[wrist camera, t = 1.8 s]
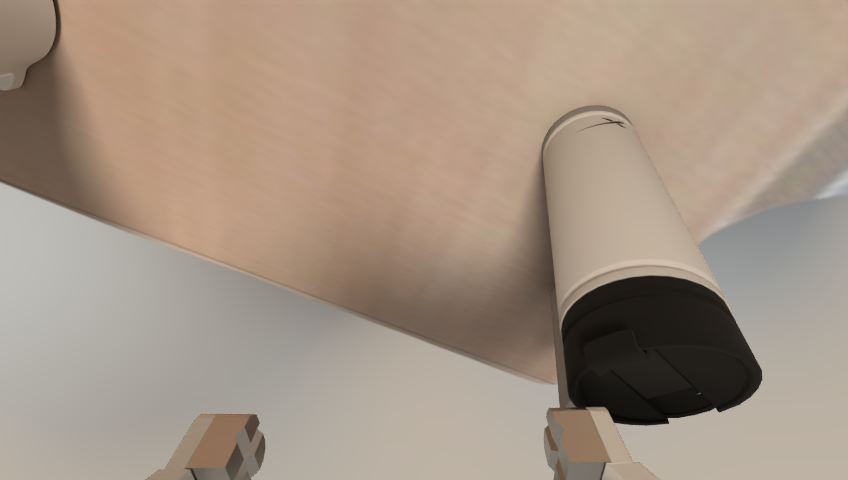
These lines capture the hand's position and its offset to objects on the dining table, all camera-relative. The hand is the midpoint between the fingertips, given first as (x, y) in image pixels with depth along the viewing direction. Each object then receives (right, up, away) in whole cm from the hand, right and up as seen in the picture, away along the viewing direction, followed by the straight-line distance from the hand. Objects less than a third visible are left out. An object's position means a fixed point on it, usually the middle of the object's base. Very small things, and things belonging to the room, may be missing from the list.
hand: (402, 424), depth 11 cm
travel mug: (+12, +12, +18) cm, 25 cm away
